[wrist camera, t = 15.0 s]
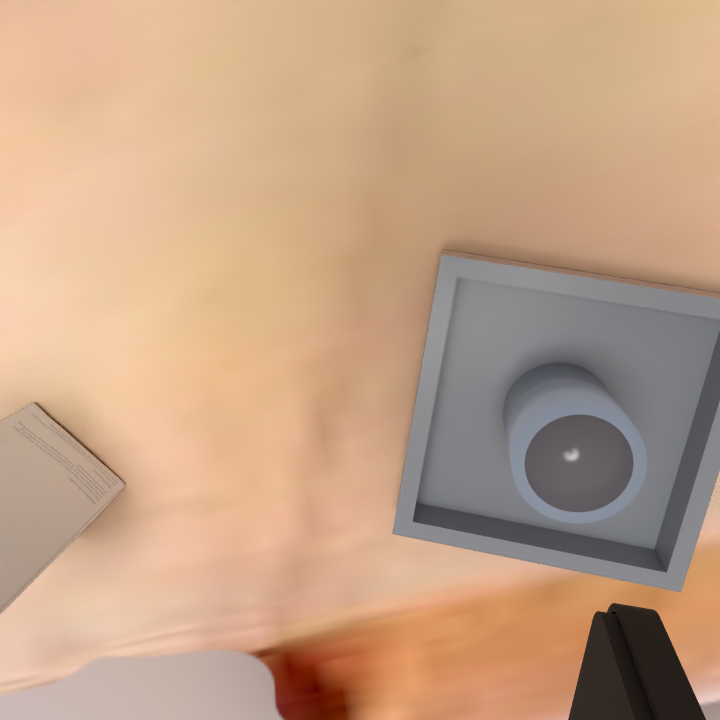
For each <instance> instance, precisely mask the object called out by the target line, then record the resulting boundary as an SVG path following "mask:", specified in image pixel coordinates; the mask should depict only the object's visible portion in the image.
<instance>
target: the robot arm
mask: <svg viewBox="0 0 720 720" xmlns="http://www.w3.org/2000/svg"><path fill="white" fill-rule="evenodd" d="M568 720H706V719H705V717H704V714H703V712H702V710H701V707H700V705H699V703H698V701H697V698H696V696H695V694H694V692H693V690H692V687H691V685H690V683H689V681H688V679H687V676H686V674H685V672H684V670H683V667H682V665H681V663H680V661H679V659H678V656H677V654H676V652H675V650H674V647H673V645H672V643H671V641H670V639H669V636H668V634H667V632H666V630H665V627H664V625H663V623H662V621H661V619H660V616H659V615H658V613H657V612H656V611H655V610H652V609H646V608H640V607H634V606H628V605H622V604H616V603H613V604H611V605H610V607H609V608H608V611H607V613H605V612H599V611H598V612H596V613H595V615H594V617H593V621H592V625H591V629H590V633H589V637H588V641H587V645H586V649H585V653H584V658H583V662H582V666H581V670H580V674H579V678H578V682H577V686H576V690H575V694H574V699H573V703H572V707H571V711H570V715H569V719H568Z"/></svg>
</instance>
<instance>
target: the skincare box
mask: <svg viewBox="0 0 720 720" xmlns="http://www.w3.org/2000/svg"><path fill="white" fill-rule="evenodd" d="M124 486H125V483H124V482H123V481H122V480H120V479H119V478H118V477H117V476H116V475H115V474H114V473H112V472H111V471H110V470H109V469H108V468H107V467H106V466H104V465H103V464H102V463H101V462H100V461H99V460H98V459H96V458H95V457H94V456H93V455H92V454H91V453H90V452H89V451H87V450H86V449H85V448H84V447H83V446H82V445H81V444H80V443H78V442H77V441H76V440H75V439H74V438H73V437H72V436H71V435H69V434H68V433H67V432H66V431H65V430H64V429H63V428H61V427H60V426H59V425H58V424H57V423H56V422H54V421H53V420H52V419H51V418H50V417H49V416H48V415H46V414H45V413H44V412H43V411H42V410H41V409H40V408H39V407H38V406H37V405H36V404H34V403H32V404H30V405H28V406H26V407H24V408H22V409H21V410H19V411H17V412H15V413H13V414H12V415H10V416H8V417H6V418H4V419H3V420H1V421H0V614H1V613H2V612H3V611H4V610H5V609H6V608H7V607H8V606H9V605H10V604H11V603H12V602H13V601H14V600H15V599H16V598H17V597H18V596H19V595H20V594H21V593H22V592H23V591H24V590H25V589H26V588H27V587H28V586H29V585H30V584H31V583H32V582H33V581H34V580H35V579H36V578H37V577H38V576H39V575H40V574H41V573H42V572H43V571H44V570H45V569H46V568H47V567H48V566H49V565H50V564H51V563H52V562H53V561H54V560H55V559H56V558H57V557H58V556H59V555H60V554H61V553H62V552H63V551H64V550H65V549H66V548H67V547H68V546H69V545H70V544H71V543H72V542H73V541H74V540H75V539H76V538H77V537H78V536H79V535H80V534H81V533H82V532H83V531H84V530H85V529H86V527H87V526H88V525H89V524H90V523H91V522H92V521H93V520H94V519H95V518H96V517H97V516H98V515H99V514H100V513H101V512H102V511H103V509H104V508H105V507H106V506H107V505H108V504H109V503H110V502H111V501H112V500H113V499H114V498H115V496H116V495H117V494H118V493H119V492H120V491H121V490H122V489H123V487H124Z"/></svg>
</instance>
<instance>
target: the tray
mask: <svg viewBox="0 0 720 720" xmlns="http://www.w3.org/2000/svg"><path fill="white" fill-rule="evenodd" d="M549 363H569V364H574V365H577V366H580V367H583V368H585V369H587V370H589V371H590V372H592V373H593V374H594V375H596V376H597V377H598V378H599V379H600V380H601V381H602V382H603V384H604V385H605V386H606V388H607V389H608V390H609V392H610V393H611V394H612V396H613V397H614V399H615V400H616V401H617V403H618V404H619V405H620V407H621V408H622V410H623V411H624V412H625V414H626V415H627V416H628V418H629V419H630V421H631V422H632V423H633V425H634V426H635V428H636V429H637V430H638V432H639V434H640V435H641V437H642V440H643V442H644V444H645V448H646V452H647V471H646V476H645V479H644V482H643V484H642V486H641V488H640V490H639V492H638V493H637V495H636V496H635V498H634V499H633V500H632V501H631V502H630V503H629V504H628V505H627V506H626V507H624V508H623V509H622V510H621V511H619V512H617V513H616V514H614V515H612V516H610V517H608V518H606V519H603V520H600V521H596V522H591V523H582V524H577V523H566V522H561V521H557V520H554V519H551V518H549V517H547V516H545V515H543V514H541V513H539V512H538V511H537V510H535V509H534V508H533V507H531V506H530V505H529V504H528V503H527V502H526V501H525V499H524V498H523V497H522V495H521V494H520V492H519V491H518V489H517V487H516V484H515V482H514V479H513V475H512V469H511V463H510V458H509V452H508V446H507V440H506V435H505V429H504V423H503V406H504V402H505V398H506V396H507V394H508V392H509V390H510V388H511V387H512V386H513V384H514V383H515V382H516V381H517V380H518V379H519V378H520V377H521V376H522V375H524V374H525V373H526V372H528V371H530V370H531V369H533V368H536V367H538V366H541V365H545V364H549ZM719 470H720V293H717V292H711V291H704V290H698V289H692V288H685V287H679V286H673V285H666V284H660V283H654V282H647V281H641V280H635V279H628V278H622V277H616V276H609V275H603V274H597V273H590V272H584V271H578V270H571V269H565V268H558V267H552V266H546V265H539V264H533V263H527V262H520V261H514V260H508V259H501V258H495V257H489V256H482V255H476V254H470V253H463V252H457V251H451V250H444V249H442V253H441V258H440V264H439V270H438V275H437V281H436V287H435V292H434V298H433V304H432V310H431V315H430V321H429V327H428V332H427V338H426V344H425V350H424V355H423V361H422V367H421V373H420V378H419V384H418V390H417V395H416V401H415V407H414V413H413V418H412V424H411V430H410V435H409V441H408V447H407V453H406V458H405V464H404V470H403V476H402V481H401V487H400V493H399V498H398V504H397V510H396V516H395V521H394V527H393V533H392V534H395V535H400V536H405V537H410V538H415V539H420V540H425V541H430V542H435V543H440V544H445V545H450V546H455V547H459V548H464V549H469V550H474V551H479V552H484V553H489V554H494V555H499V556H504V557H509V558H514V559H519V560H524V561H529V562H534V563H538V564H543V565H548V566H553V567H558V568H563V569H568V570H573V571H578V572H583V573H588V574H593V575H598V576H603V577H608V578H613V579H618V580H622V581H627V582H632V583H637V584H642V585H647V586H652V587H657V588H662V589H667V590H672V591H677V592H681V590H682V587H683V584H684V581H685V578H686V574H687V571H688V568H689V565H690V562H691V559H692V555H693V552H694V549H695V546H696V543H697V540H698V537H699V533H700V530H701V527H702V524H703V521H704V518H705V514H706V511H707V508H708V505H709V502H710V499H711V495H712V492H713V489H714V486H715V483H716V480H717V477H718V473H719Z"/></svg>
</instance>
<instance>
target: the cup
mask: <svg viewBox="0 0 720 720" xmlns="http://www.w3.org/2000/svg"><path fill="white" fill-rule="evenodd" d="M503 423H504V429H505V435H506V440H507V446H508V452H509V458H510V463H511V469H512V475H513V479H514V482H515V484H516V487H517V489H518V491H519V492H520V494H521V495H522V497H523V498H524V499H525V501H526V502H527V503H528V504H529V505H530V506H531V507H533V508H534V509H535V510H537V511H538V512H539V513H541V514H543V515H545V516H547V517H549V518H551V519H554V520H557V521H561V522H566V523H577V524H582V523H591V522H596V521H600V520H603V519H606V518H608V517H610V516H612V515H614V514H616V513H617V512H619V511H621V510H622V509H623V508H624V507H626V506H627V505H628V504H629V503H630V502H631V501H632V500H633V499H634V498H635V496H636V495H637V493H638V492H639V490H640V488H641V486H642V484H643V482H644V479H645V476H646V471H647V452H646V448H645V444H644V442H643V440H642V437H641V435H640V434H639V432H638V430H637V429H636V428H635V426H634V425H633V423H632V422H631V421H630V419H629V418H628V416H627V415H626V414H625V412H624V411H623V410H622V408H621V407H620V405H619V404H618V403H617V401H616V400H615V399H614V397H613V396H612V394H611V393H610V392H609V390H608V389H607V388H606V386H605V385H604V384H603V382H602V381H601V380H600V379H599V378H598V377H597V376H596V375H594V374H593V373H592V372H590V371H589V370H587V369H585V368H583V367H580V366H577V365H574V364H569V363H549V364H545V365H541V366H538V367H536V368H533V369H531V370H530V371H528V372H526V373H525V374H524V375H522V376H521V377H520V378H519V379H518V380H517V381H516V382H515V383H514V384H513V386H512V387H511V388H510V390H509V392H508V394H507V396H506V398H505V402H504V406H503Z"/></svg>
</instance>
